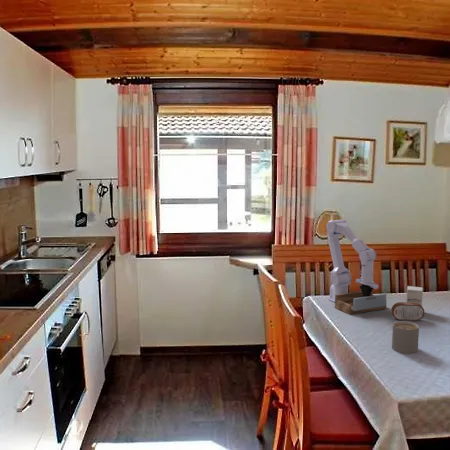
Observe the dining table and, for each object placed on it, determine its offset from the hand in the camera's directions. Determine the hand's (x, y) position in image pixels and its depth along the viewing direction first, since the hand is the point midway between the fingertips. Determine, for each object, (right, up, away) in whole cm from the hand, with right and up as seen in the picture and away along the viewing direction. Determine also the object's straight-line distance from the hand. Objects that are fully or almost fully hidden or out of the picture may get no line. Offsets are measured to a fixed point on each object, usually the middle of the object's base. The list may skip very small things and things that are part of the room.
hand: (366, 299), depth 253 cm
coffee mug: (+2, -13, -48) cm, 49 cm away
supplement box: (+23, -6, -3) cm, 24 cm away
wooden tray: (-2, -5, +4) cm, 7 cm away
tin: (+16, -8, -14) cm, 22 cm away
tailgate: (+1, -4, -1) cm, 4 cm away
